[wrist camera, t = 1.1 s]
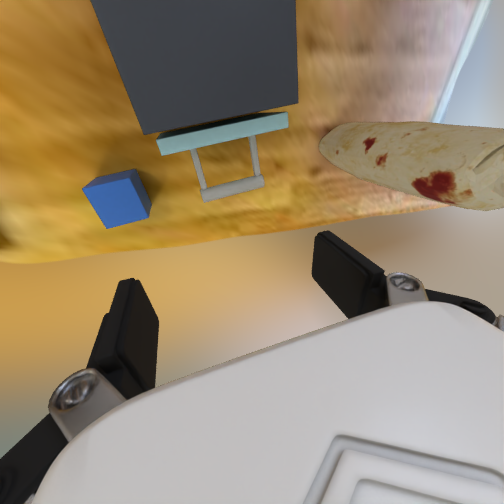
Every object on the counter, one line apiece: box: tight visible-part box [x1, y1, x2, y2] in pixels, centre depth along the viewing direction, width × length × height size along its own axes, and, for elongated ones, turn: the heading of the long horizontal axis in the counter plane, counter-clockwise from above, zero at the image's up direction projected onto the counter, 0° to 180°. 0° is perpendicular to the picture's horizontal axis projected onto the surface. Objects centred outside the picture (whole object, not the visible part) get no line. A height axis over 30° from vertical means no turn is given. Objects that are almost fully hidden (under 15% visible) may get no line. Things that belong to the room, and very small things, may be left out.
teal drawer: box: [156, 112, 288, 203], centre depth 19 cm, size 19×11×8 cm, turn 9°
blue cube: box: [82, 169, 152, 229], centre depth 24 cm, size 4×4×4 cm
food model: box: [319, 122, 504, 211], centre depth 23 cm, size 10×7×20 cm
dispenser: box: [91, 0, 298, 135], centre depth 17 cm, size 15×13×10 cm
